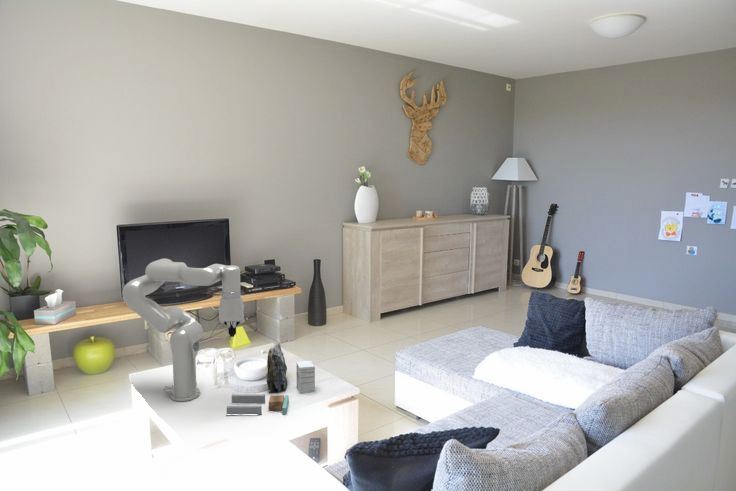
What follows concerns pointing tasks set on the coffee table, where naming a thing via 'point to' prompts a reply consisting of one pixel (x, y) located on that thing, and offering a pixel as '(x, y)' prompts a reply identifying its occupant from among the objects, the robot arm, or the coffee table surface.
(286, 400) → the bar
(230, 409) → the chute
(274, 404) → the walnut block
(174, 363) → the robot arm
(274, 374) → the stone block
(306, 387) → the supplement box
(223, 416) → the coffee table surface
